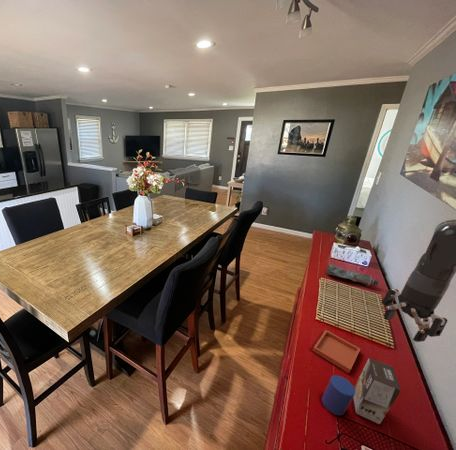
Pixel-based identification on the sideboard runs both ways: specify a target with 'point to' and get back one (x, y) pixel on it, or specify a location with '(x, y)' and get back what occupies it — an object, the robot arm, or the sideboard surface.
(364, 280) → the dark stone rod
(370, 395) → the coffee box
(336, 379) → the blue tin
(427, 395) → the sideboard surface
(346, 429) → the sideboard surface
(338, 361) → the tray
